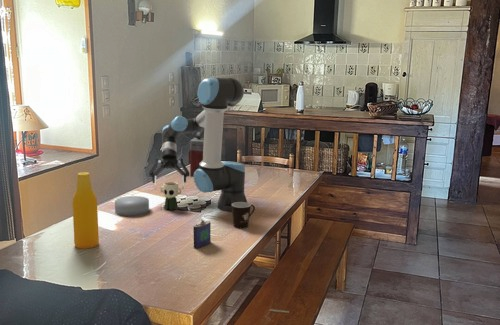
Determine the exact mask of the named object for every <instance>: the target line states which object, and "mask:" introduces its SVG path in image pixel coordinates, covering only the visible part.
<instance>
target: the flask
mask: <svg viewBox="0 0 500 325" xmlns="http://www.w3.org/2000/svg"><path fill="white" fill-rule="evenodd" d="M211 227H212V226H211V220H210V221H209V220H207V221H206V219H205V220H204V219H201V221H200V223H196V224H195V225H194V226H193V227H192V228H193V249H201V248H205V246H208V245H209V244H211V241H212V240H211V238H212V237H211V232H212V230H211Z"/></svg>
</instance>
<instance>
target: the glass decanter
mask: <svg viewBox="0 0 500 325" xmlns="http://www.w3.org/2000/svg"><path fill="white" fill-rule="evenodd" d="M202 133H203V132H197V133H196V135H195V136H196V137H194V138H191V140H190V141H189V143H190V144H189V145H190V147H189V150H188V165H189V168H190V169H189V173H190V175H189V177H191V178H194V172H195V171H196V170H197V169H199V163H200V162H201V161H202V160H203V147H204V137H202Z"/></svg>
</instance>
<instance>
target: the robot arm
mask: <svg viewBox="0 0 500 325" xmlns="http://www.w3.org/2000/svg"><path fill="white" fill-rule="evenodd" d="M196 93H197V94H196V95H197V98H198V101H199V103H200V104H202V105H201V108H202V109H203V110H202V111H201V112H200V113H198V115H196V117H194V118H186V117H184V116H182V115H177V116H176V117H174V118H173V119H172V120H171V122H170V124H167V125H165V126H164V127H163V128H162V131H161V160H160V159H158V158H156V159H155V163H153V165H152V167H151V169H150V171H149V172H148V176H149V178H151V179H152V183H153V184H154V190H157V176H158V175H159V174H160V173H161V172H162V171H163V170H165V169H170V170H171V169H174V170H175V171H177V172H178V174H180V175H181V182H182V186H181V187H182V188H181V190H185V184H186V183H187V177H190V170H188V168H187V166H186V164H185V163H184V160H183V158H181V159H178V157H177V156H178V155H177V151H178V150H177V148H178V147H177V144H178V143H177V141H178V138H179V137H180V136H181V135H184V134H195V133H196V134H197V132H201V133H203V132H204V133H203V138H204V147H203V160H202V161H201V162H200V163H199V169H197V170H196V171H195V172H194V177H193V182H194V184H195V186H196V188H197V189H198V190H199V192H201V193H213V192H217V191H220V195H219V197H218V201H217V209H219V210H221V211H224V212H225V211H226V212H232V203H235V202H246V203H248V200H247V196H246V194H245V185H246V184H245V183H246V182H245V180H246V179H245V178H246V169H245V168H246V167H245V164H244V163H242V162H237V161H230V160H229V161H228V160H226V161H225V160H224V161H222V149H223V148H222V147H223V133H224V131H223V129H224V117H225V116H224V115H225V114H224V113H225V112H226V111H227V110H228V109H230V108H231V107H233V108H234V107H235V106H237V104H239V103H240V102H241V101H242V99H243V97H244V95H245V89H244V86H243V84H242V82H241V81H240V80H238V78H237V79H236V78H235V77H209V78H205V79H202V81H201V82H200V83H199V84H198V88H197V92H196ZM160 164H161V165H160ZM178 164H179V165H180V166H181V167H180V166H178ZM159 165H160V166H159ZM158 166H159V167H158ZM181 168H182V169H181Z"/></svg>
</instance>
